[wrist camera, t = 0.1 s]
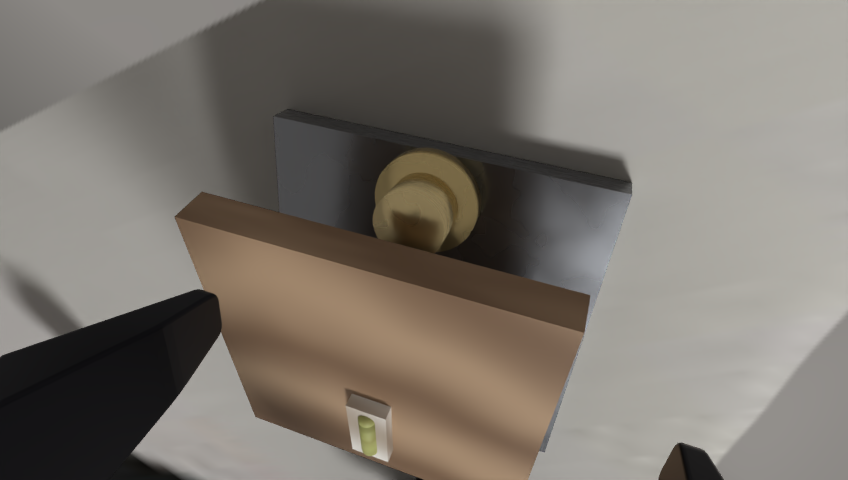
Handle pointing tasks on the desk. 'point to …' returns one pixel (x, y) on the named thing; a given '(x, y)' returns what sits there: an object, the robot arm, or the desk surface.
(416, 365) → the top plate
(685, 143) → the desk surface
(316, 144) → the base
